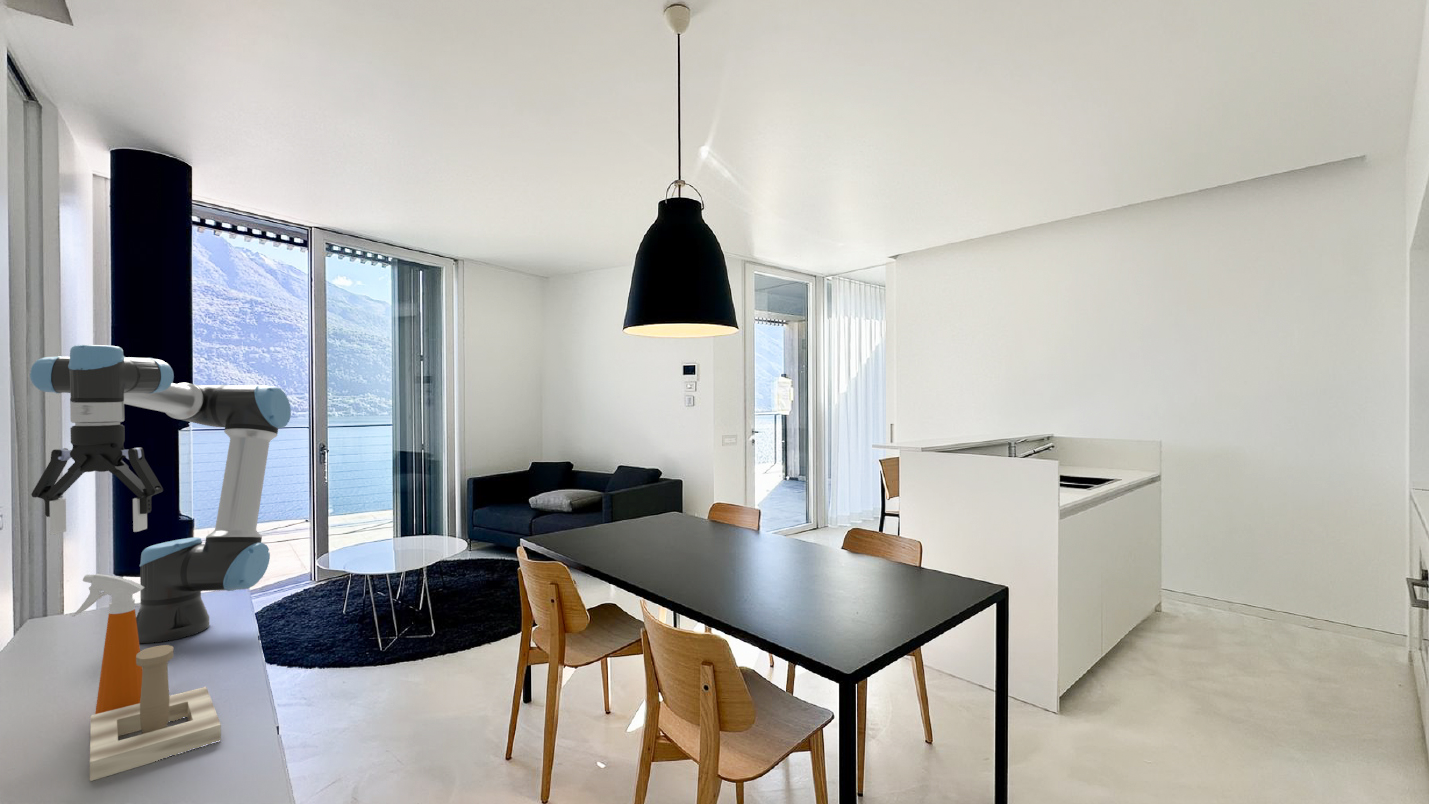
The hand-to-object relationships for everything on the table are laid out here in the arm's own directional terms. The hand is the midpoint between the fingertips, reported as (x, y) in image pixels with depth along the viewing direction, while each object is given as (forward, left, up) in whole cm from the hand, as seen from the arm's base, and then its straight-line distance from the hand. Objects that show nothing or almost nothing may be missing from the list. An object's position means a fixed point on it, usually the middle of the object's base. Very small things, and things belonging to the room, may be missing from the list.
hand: (99, 531), depth 122 cm
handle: (+17, +20, -34) cm, 42 cm away
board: (+17, +20, -33) cm, 42 cm away
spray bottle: (+5, +5, -34) cm, 34 cm away
